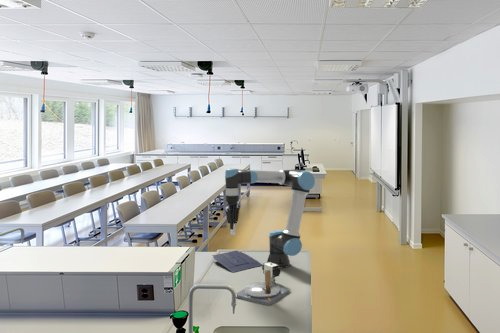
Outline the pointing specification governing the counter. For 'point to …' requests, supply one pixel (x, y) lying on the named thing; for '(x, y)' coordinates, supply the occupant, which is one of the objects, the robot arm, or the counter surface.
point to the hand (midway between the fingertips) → (233, 234)
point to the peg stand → (263, 288)
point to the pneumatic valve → (273, 268)
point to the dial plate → (263, 300)
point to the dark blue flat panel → (236, 261)
